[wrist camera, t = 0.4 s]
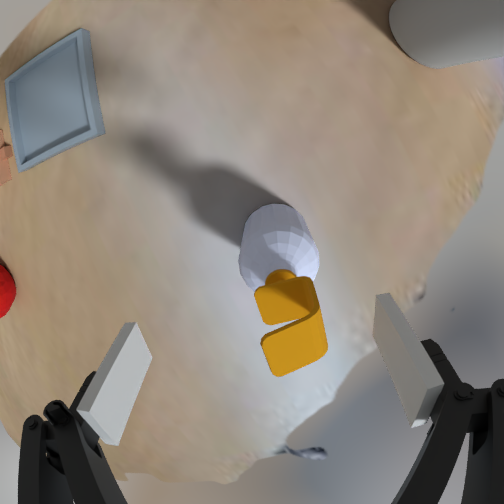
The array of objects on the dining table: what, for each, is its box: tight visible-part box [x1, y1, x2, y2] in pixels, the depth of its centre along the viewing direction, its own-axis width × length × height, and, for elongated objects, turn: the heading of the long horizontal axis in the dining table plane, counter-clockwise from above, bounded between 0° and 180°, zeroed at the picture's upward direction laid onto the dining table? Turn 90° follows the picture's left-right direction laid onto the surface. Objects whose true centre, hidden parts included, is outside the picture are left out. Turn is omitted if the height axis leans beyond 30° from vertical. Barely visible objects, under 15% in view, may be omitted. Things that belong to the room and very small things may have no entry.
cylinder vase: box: [389, 0, 504, 69], centre depth 17 cm, size 12×12×25 cm
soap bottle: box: [238, 204, 328, 377], centre depth 31 cm, size 9×9×25 cm
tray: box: [5, 28, 105, 173], centre depth 33 cm, size 18×18×2 cm
